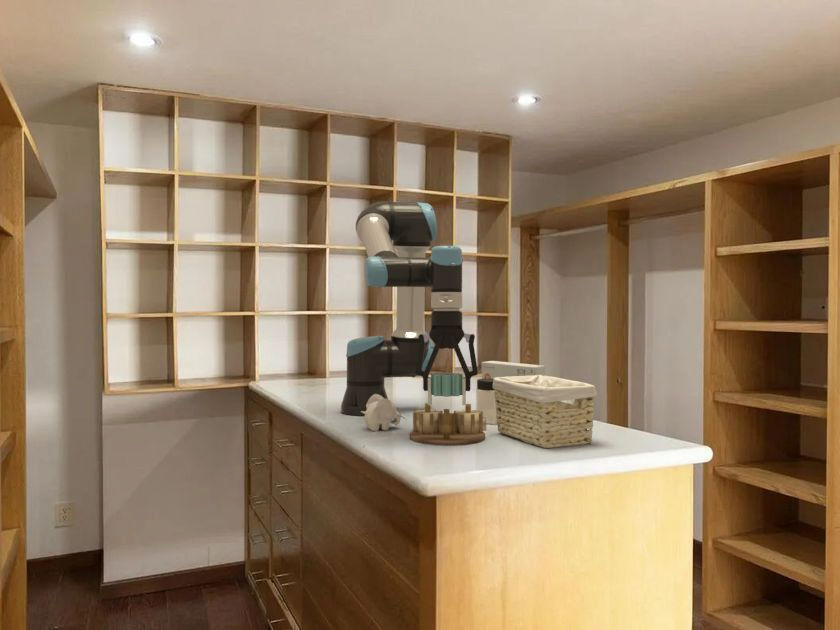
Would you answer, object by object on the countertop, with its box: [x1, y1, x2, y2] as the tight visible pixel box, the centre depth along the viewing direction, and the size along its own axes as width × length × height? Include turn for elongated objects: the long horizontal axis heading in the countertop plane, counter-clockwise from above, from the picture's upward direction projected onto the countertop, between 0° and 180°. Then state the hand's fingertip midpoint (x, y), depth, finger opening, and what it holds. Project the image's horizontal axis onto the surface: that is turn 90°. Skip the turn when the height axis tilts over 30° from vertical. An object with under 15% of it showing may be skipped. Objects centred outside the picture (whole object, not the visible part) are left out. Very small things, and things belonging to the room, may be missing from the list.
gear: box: [430, 372, 464, 398], centre depth 167 cm, size 8×8×5 cm
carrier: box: [409, 402, 486, 446], centre depth 174 cm, size 19×19×8 cm
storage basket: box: [493, 375, 598, 449], centre depth 172 cm, size 24×16×15 cm
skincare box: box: [481, 360, 546, 379], centre depth 207 cm, size 21×6×16 cm, turn 43°
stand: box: [483, 417, 487, 431], centre depth 186 cm, size 6×6×3 cm
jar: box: [475, 378, 497, 425], centre depth 197 cm, size 9×8×12 cm
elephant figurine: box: [361, 394, 407, 432], centre depth 186 cm, size 10×12×9 cm
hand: (446, 404), depth 167 cm, fingers closed on gear, 8 cm apart
